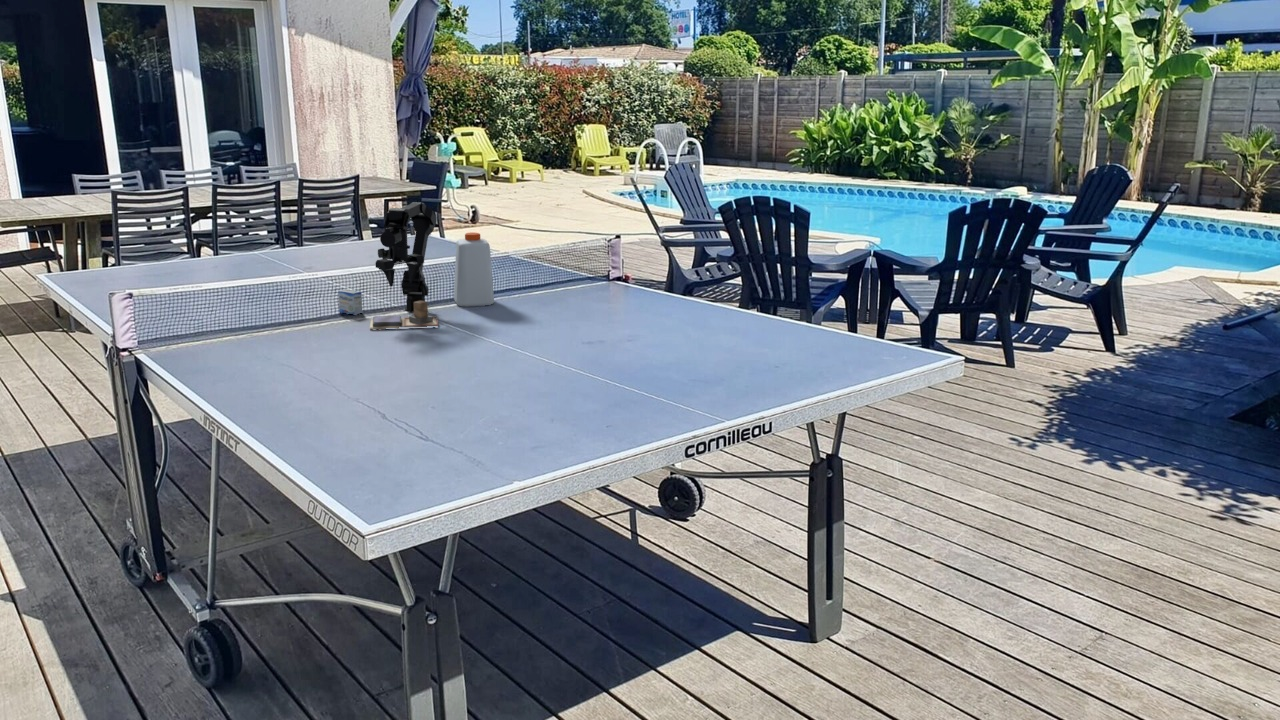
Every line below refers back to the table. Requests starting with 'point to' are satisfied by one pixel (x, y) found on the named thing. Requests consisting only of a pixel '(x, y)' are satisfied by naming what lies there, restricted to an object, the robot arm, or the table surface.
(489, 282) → the plastic bottle
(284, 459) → the table surface
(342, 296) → the medicine box
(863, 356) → the table surface
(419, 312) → the stamp
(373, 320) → the board
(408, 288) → the robot arm
